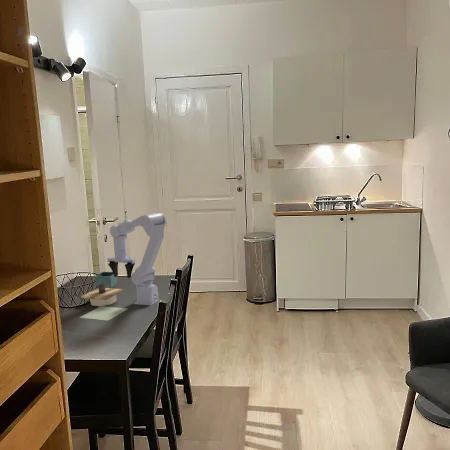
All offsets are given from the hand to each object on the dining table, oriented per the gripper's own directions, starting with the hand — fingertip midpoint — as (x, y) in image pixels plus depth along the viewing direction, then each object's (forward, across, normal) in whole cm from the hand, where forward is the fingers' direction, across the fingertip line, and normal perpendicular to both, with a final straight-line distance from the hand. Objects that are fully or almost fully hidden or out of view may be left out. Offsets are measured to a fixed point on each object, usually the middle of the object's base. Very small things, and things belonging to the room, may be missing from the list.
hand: (122, 276), depth 231 cm
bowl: (+10, -6, -9) cm, 15 cm away
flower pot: (+11, -16, +8) cm, 20 cm away
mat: (+10, +4, -22) cm, 25 cm away
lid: (+6, -6, -9) cm, 13 cm away
